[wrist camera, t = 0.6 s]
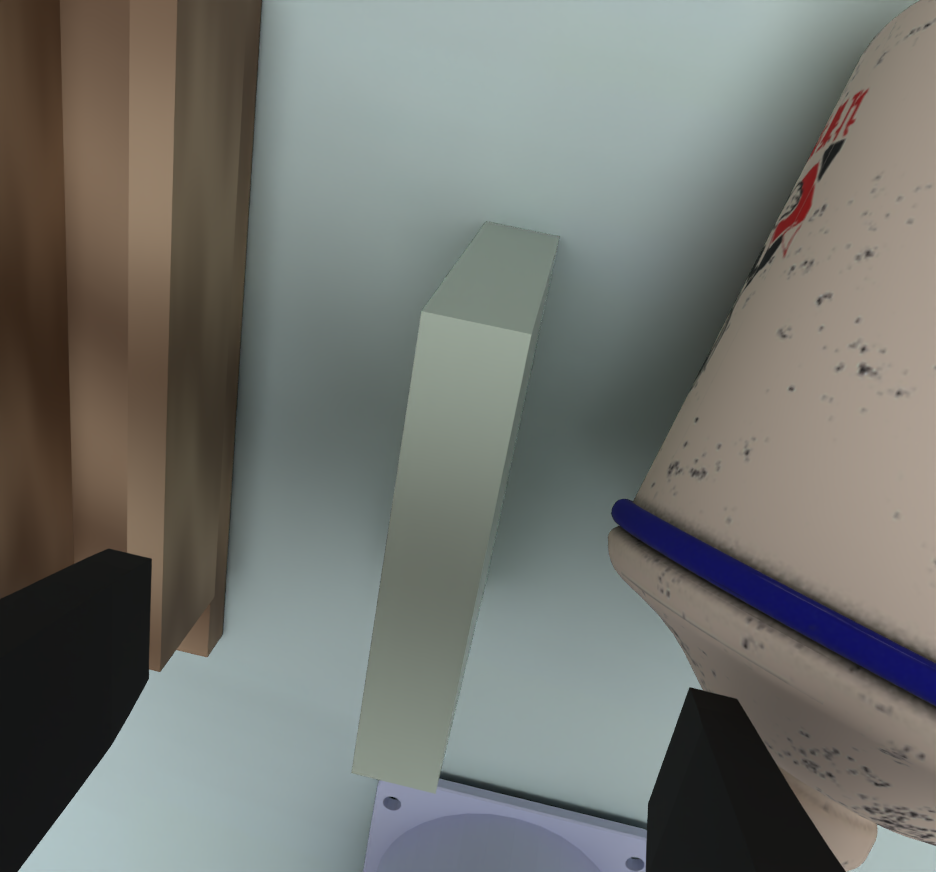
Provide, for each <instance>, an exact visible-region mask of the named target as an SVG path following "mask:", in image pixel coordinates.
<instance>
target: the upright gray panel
mask: <svg viewBox="0 0 936 872" xmlns="http://www.w3.org/2000/svg"><path fill="white" fill-rule="evenodd" d="M559 238H560V236H556V235H551V234H546V233H541V232H536V231H531V230H526V229H521V228H516V227H512V226H507V225H502V224H497V223H492V222H487V221H486V222H485V224H484V225H483V226H482V228H481V229H480V230H479V232H478V233H477V235H476V236H475V237H474V239H473V240H472V242H471V243H470V244H469V246H468V247H467V249H466V250H465V251H464V253H463V254H462V255H461V257H460V258H459V260H458V261H457V262H456V264H455V265H454V267H453V268H452V269H451V271H450V272H449V274H448V275H447V276H446V278H445V279H444V280H443V282H442V283H441V285H440V286H439V287H438V289H437V290H436V292H435V293H434V294H433V296H432V297H431V298H430V300H429V301H428V303H427V304H426V305H425V307H424V308H423V310H422V311H421V317H420V324H419V330H418V337H417V343H416V350H415V357H414V363H413V370H412V376H411V383H410V390H409V396H408V403H407V409H406V416H405V423H404V429H403V436H402V442H401V449H400V456H399V462H398V469H397V475H396V482H395V489H394V495H393V502H392V508H391V515H390V522H389V528H388V535H387V541H386V548H385V555H384V561H383V568H382V574H381V581H380V588H379V594H378V601H377V607H376V614H375V621H374V627H373V634H372V640H371V647H370V654H369V660H368V667H367V673H366V680H365V687H364V693H363V700H362V706H361V713H360V720H359V726H358V733H357V739H356V746H355V753H354V759H353V766H352V772H351V773H353V774H357V775H361V776H365V777H369V778H373V779H377V780H381V781H386V782H390V783H394V784H398V785H402V786H406V787H410V788H414V789H418V790H422V791H426V792H430V793H434V794H436V789H437V785H438V781H439V777H440V773H441V769H442V764H443V760H444V756H445V752H446V748H447V744H448V739H449V735H450V731H451V727H452V723H453V719H454V715H455V710H456V706H457V702H458V698H459V694H460V690H461V685H462V681H463V677H464V673H465V669H466V665H467V660H468V656H469V652H470V648H471V644H472V640H473V635H474V631H475V627H476V623H477V619H478V615H479V611H480V606H481V602H482V598H483V594H484V590H485V586H486V581H487V576H488V572H489V567H490V562H491V557H492V553H493V548H494V543H495V539H496V534H497V529H498V525H499V520H500V515H501V510H502V506H503V501H504V496H505V492H506V487H507V482H508V478H509V473H510V468H511V464H512V459H513V454H514V449H515V445H516V440H517V435H518V431H519V426H520V421H521V417H522V412H523V407H524V402H525V398H526V393H527V388H528V384H529V379H530V374H531V370H532V365H533V360H534V356H535V351H536V346H537V341H538V337H539V332H540V327H541V323H542V318H543V313H544V309H545V304H546V299H547V294H548V290H549V285H550V280H551V276H552V271H553V266H554V262H555V257H556V252H557V247H558V243H559Z"/></svg>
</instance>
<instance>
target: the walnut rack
mask: <svg viewBox="0 0 936 872" xmlns="http://www.w3.org/2000/svg"><path fill="white" fill-rule="evenodd" d="M261 5H262V0H0V599H1V598H3V597H5V596H8V595H10V594H12V593H14V592H16V591H18V590H20V589H22V588H25V587H27V586H29V585H31V584H33V583H35V582H37V581H39V580H41V579H43V578H45V577H47V576H49V575H52V574H54V573H56V572H58V571H60V570H62V569H64V568H66V567H68V566H70V565H72V564H75V563H77V562H79V561H81V560H83V559H85V558H87V557H90V556H92V555H94V554H97V553H99V552H101V551H104V550H106V549H108V548H109V549H113V550H118V551H122V552H126V553H130V554H134V555H138V556H143V557H147V558H151V559H152V575H151V611H150V646H149V669H150V670H154V671H158V672H161V670H162V669H163V667H164V666H165V665H166V663H167V662H168V661H169V659H170V658H171V656H172V655H173V654H174V652H175V651H176V650H179V651H183V652H187V653H191V654H195V655H200V656H204V657H208V656H209V654H210V653H211V651H212V650H213V648H214V647H215V645H216V644H217V642H218V641H219V639H220V638H221V636H222V633H223V617H224V601H225V585H226V569H227V553H228V537H229V521H230V505H231V488H232V472H233V456H234V440H235V424H236V408H237V392H238V376H239V360H240V343H241V327H242V311H243V295H244V279H245V263H246V247H247V231H248V215H249V198H250V182H251V166H252V150H253V134H254V118H255V102H256V86H257V70H258V53H259V37H260V21H261Z"/></svg>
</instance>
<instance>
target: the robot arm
mask: <svg viewBox="0 0 936 872" xmlns="http://www.w3.org/2000/svg"><path fill="white" fill-rule="evenodd" d="M151 575H152V559H151V558H147V557H143V556H138V555H134V554H130V553H126V552H122V551H118V550H113V549H109V548H108V549H106V550H104V551H101V552H99V553H97V554H94V555H92V556H90V557H87V558H85V559H83V560H81V561H79V562H77V563H75V564H72V565H70V566H68V567H66V568H64V569H62V570H60V571H58V572H56V573H54V574H52V575H49V576H47V577H45V578H43V579H41V580H39V581H37V582H35V583H33V584H31V585H29V586H27V587H25V588H22V589H20V590H18V591H16V592H14V593H12V594H10V595H8V596H5V597H3V598H1V599H0V872H18V870H19V869H20V868H21V866H22V865H23V864H24V862H25V861H26V860H27V858H28V857H29V856H30V854H31V853H32V852H33V850H34V849H35V848H36V846H37V845H38V844H39V842H40V841H41V840H42V838H43V837H44V836H45V834H46V833H47V832H48V830H49V829H50V828H51V826H52V825H53V824H54V822H55V821H56V820H57V818H58V817H59V816H60V814H61V813H62V812H63V810H64V809H65V808H66V806H67V805H68V804H69V802H70V801H71V800H72V798H73V797H74V796H75V794H76V793H77V792H78V790H79V789H80V788H81V786H82V785H83V784H84V782H85V781H86V779H87V778H88V777H89V775H90V774H91V773H92V771H93V770H94V769H95V767H96V766H97V765H98V763H99V762H100V760H101V759H102V758H103V756H104V755H105V754H106V752H107V751H108V749H109V748H110V747H111V745H112V743H113V742H114V740H115V738H116V737H117V735H118V733H119V731H120V730H121V728H122V726H123V725H124V723H125V721H126V719H127V718H128V716H129V714H130V712H131V711H132V709H133V707H134V705H135V703H136V701H137V700H138V698H139V696H140V694H141V692H142V690H143V689H144V687H145V685H146V683H147V681H148V679H149V646H150V611H151ZM390 797H395V798H397V799H398V800H394V799H392V798H390ZM631 857H638V858H639V859H632V858H631ZM363 872H846V871H845V870H844V868H843V867H842V865H841V864H840V862H839V861H838V859H837V858H836V857H835V855H834V854H833V852H832V851H831V849H830V848H829V846H828V845H827V843H826V842H825V840H824V839H823V837H822V836H821V834H820V833H819V831H818V829H817V828H816V826H815V825H814V823H813V822H812V820H811V819H810V817H809V816H808V814H807V813H806V811H805V809H804V808H803V806H802V805H801V803H800V802H799V800H798V798H797V797H796V795H795V794H794V792H793V790H792V789H791V787H790V786H789V784H788V782H787V781H786V779H785V777H784V776H783V774H782V772H781V771H780V769H779V767H778V766H777V764H776V762H775V761H774V759H773V757H772V756H771V754H770V752H769V751H768V749H767V747H766V746H765V744H764V742H763V741H762V739H761V737H760V736H759V734H758V732H757V731H756V729H755V727H754V726H753V724H752V722H751V721H750V719H749V717H748V716H747V714H746V712H745V711H744V709H743V707H742V706H741V704H740V702H739V701H738V699H736V698H732V697H728V696H724V695H719V694H715V693H711V692H707V691H703V690H699V689H694V688H689V690H688V693H687V696H686V699H685V702H684V704H683V707H682V710H681V713H680V716H679V718H678V721H677V724H676V727H675V730H674V733H673V735H672V738H671V741H670V744H669V747H668V749H667V752H666V755H665V758H664V761H663V763H662V766H661V769H660V772H659V775H658V777H657V780H656V783H655V786H654V789H653V792H652V794H651V797H650V800H649V803H648V819H647V830H645V829H642V828H638V827H634V826H630V825H626V824H622V823H618V822H614V821H610V820H606V819H602V818H598V817H594V816H590V815H585V814H581V813H577V812H573V811H569V810H565V809H561V808H557V807H553V806H549V805H545V804H541V803H537V802H533V801H529V800H525V799H521V798H516V797H512V796H508V795H504V794H500V793H496V792H492V791H488V790H484V789H480V788H476V787H472V786H468V785H464V784H460V783H456V782H451V781H447V780H443V779H439V781H438V785H437V789H436V794H434V793H430V792H426V791H422V790H418V789H414V788H410V787H406V786H402V785H398V784H394V783H390V782H386V781H381V780H379V782H378V786H377V791H376V797H375V803H374V809H373V815H372V821H371V827H370V833H369V838H368V844H367V850H366V856H365V862H364V868H363Z"/></svg>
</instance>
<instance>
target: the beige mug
mask: <svg viewBox="0 0 936 872" xmlns="http://www.w3.org/2000/svg"><path fill="white" fill-rule="evenodd" d="M611 514H612V517H613V519H614V521H615V522H616V523H617V524H618V525H619V526H618V527H615V528H614V529H612V530H611V531H610V533H609V535H608V549H609V556H610V559H611V562H612V565H613V567H614V568H615V570H616V571H617V573H618V574H619V575H620V576H621V578H622V579H623V580H624V581H625V582H626V583H627V584H628V585H629V586H630V587H631V588H632V589H634V590H635V591H636V592H637V593H638V594H639V595H640V596H641V597H642V598H643V599H644V600H645V601H646V602H647V603H648V604H649V605H650V607H651V608H652V609H653V610H654V611H655V612H656V613H657V614H658V615H659V616H660V617H661V619H662V620H663V621H664V622H665V624H666V625H667V626H668V628H669V629H670V630H671V632H672V633H673V634H674V636H675V637H676V639H677V641H678V643H679V644H680V646H681V648H682V649H683V651H684V653H685V655H686V657H687V659H688V661H689V663H690V665H691V667H692V669H693V671H694V673H695V675H696V677H697V679H698V681H699V683H700V685H701V687H702V689H703V691H707V692H711V693H715V694H719V695H724V696H728V697H732V698H736V699H738V701H739V702H740V704H741V706H742V707H743V709H744V711H745V712H746V714H747V716H748V717H749V719H750V721H751V722H752V724H753V726H754V727H755V729H756V731H757V732H758V734H759V736H760V737H761V739H762V741H763V742H764V744H765V746H766V747H767V749H768V751H769V752H770V754H771V756H772V757H773V759H774V761H775V762H776V764H777V766H778V767H779V769H780V771H781V772H782V774H783V776H784V777H785V779H786V781H787V782H788V784H789V786H790V787H791V789H792V790H793V792H794V794H795V795H796V797H797V798H798V800H799V802H800V803H801V805H802V806H803V808H804V809H805V811H806V813H807V814H808V816H809V817H810V819H811V820H812V822H813V823H814V825H815V826H816V828H817V829H818V831H819V833H820V834H821V836H822V837H823V839H824V840H825V842H826V843H827V845H828V846H829V848H830V849H831V851H832V852H833V854H834V855H835V857H836V858H837V859H838V861H839V862H840V864H841V865H842V867H843V868H844V870H845V871H849V870H852V869H855V868H857V867H859V866H860V865H861V864H862V863H863V862H864V861H865V860H866V858H867V856H868V854H869V852H870V850H871V848H872V847H873V845H874V843H875V841H876V837H877V824H878V825H880V826H882V827H884V828H886V829H889V830H891V831H893V832H896V833H898V834H901V835H903V836H906V837H909V838H912V839H916V840H919V841H922V842H925V843H928V844H932V845H935V846H936V0H920V1H918V2H917V3H915V4H913V5H911V6H910V7H908V8H907V9H906V10H904V11H903V12H902V13H901V14H899V15H898V16H897V17H895V18H894V19H893V20H892V21H890V22H889V23H888V24H887V25H886V26H885V27H884V28H883V29H882V30H881V31H880V32H879V33H878V34H877V35H876V36H875V37H874V39H873V40H872V41H871V43H870V44H869V46H868V47H867V48H866V50H865V51H864V53H863V54H862V56H861V57H860V59H859V61H858V63H857V65H856V67H855V69H854V71H853V73H852V75H851V77H850V79H849V81H848V83H847V85H846V87H845V89H844V90H843V92H842V94H841V96H840V98H839V100H838V102H837V104H836V106H835V108H834V110H833V112H832V114H831V116H830V118H829V120H828V122H827V124H826V126H825V128H824V130H823V132H822V133H821V135H820V137H819V139H818V141H817V143H816V145H815V147H814V149H813V151H812V153H811V155H810V157H809V159H808V161H807V163H806V165H805V167H804V169H803V171H802V173H801V175H800V176H799V178H798V180H797V182H796V184H795V186H794V188H793V190H792V192H791V194H790V196H789V198H788V200H787V202H786V204H785V206H784V208H783V210H782V212H781V214H780V216H779V218H778V219H777V221H776V223H775V225H774V227H773V229H772V231H771V233H770V235H769V237H768V239H767V241H766V243H765V245H764V247H763V249H762V251H761V253H760V255H759V257H758V259H757V261H756V262H755V264H754V266H753V268H752V270H751V272H750V274H749V276H748V278H747V280H746V282H745V284H744V286H743V288H742V290H741V292H740V294H739V296H738V298H737V300H736V302H735V304H734V305H733V307H732V309H731V311H730V313H729V315H728V317H727V319H726V321H725V323H724V325H723V327H722V329H721V331H720V333H719V335H718V337H717V339H716V341H715V343H714V345H713V347H712V348H711V350H710V352H709V354H708V356H707V358H706V360H705V362H704V364H703V366H702V368H701V370H700V372H699V374H698V376H697V378H696V380H695V382H694V384H693V386H692V388H691V390H690V391H689V393H688V395H687V397H686V399H685V401H684V403H683V405H682V407H681V409H680V411H679V413H678V415H677V417H676V419H675V421H674V423H673V425H672V427H671V429H670V431H669V433H668V434H667V436H666V438H665V440H664V442H663V444H662V446H661V448H660V450H659V452H658V454H657V456H656V458H655V460H654V462H653V464H652V466H651V468H650V470H649V472H648V474H647V476H646V477H645V479H644V481H643V483H642V485H641V487H640V489H639V491H638V493H637V495H636V497H635V499H634V501H631V500H628V499H620V500H618V501H617V502H616V503H615V504H614V506H613V508H612V512H611Z"/></svg>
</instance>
